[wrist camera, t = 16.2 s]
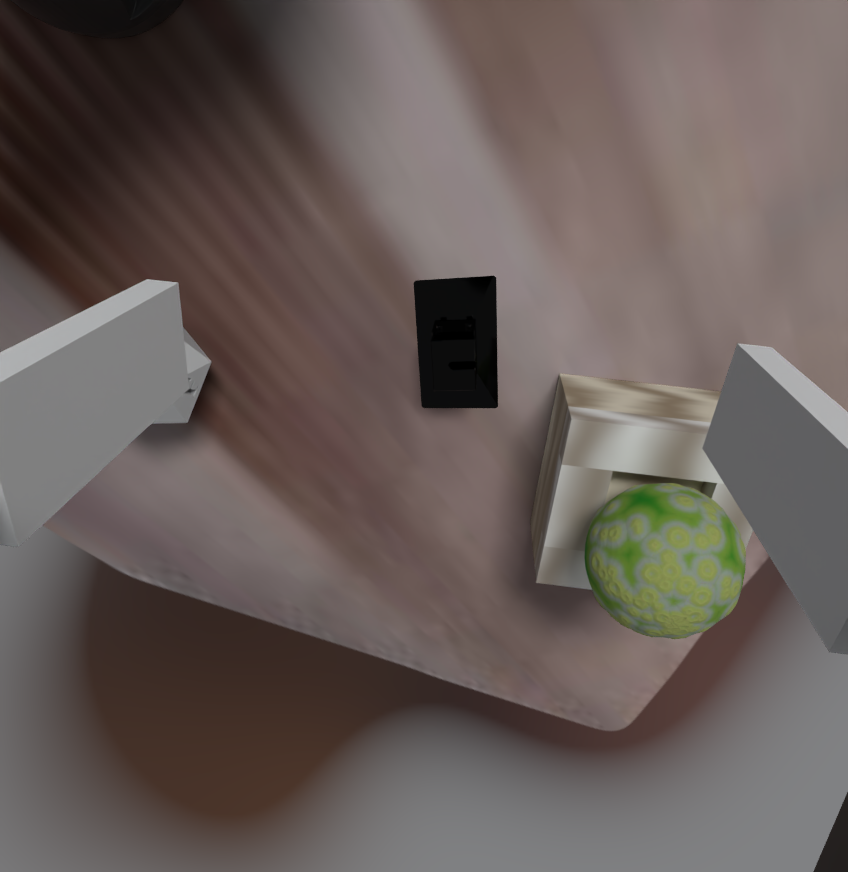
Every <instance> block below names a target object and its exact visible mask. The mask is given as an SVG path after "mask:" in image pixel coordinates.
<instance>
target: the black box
mask: <svg viewBox="0 0 848 872" xmlns="http://www.w3.org/2000/svg"><path fill="white" fill-rule="evenodd" d="M414 295H415V310H416V326H417V341H418V356H419V371H420V387H421V402H422V407H423V408H497V407H498V383H497V309H496V277H495V276H483V277H467V278H451V279H435V280H419V281H415V282H414Z"/></svg>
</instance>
